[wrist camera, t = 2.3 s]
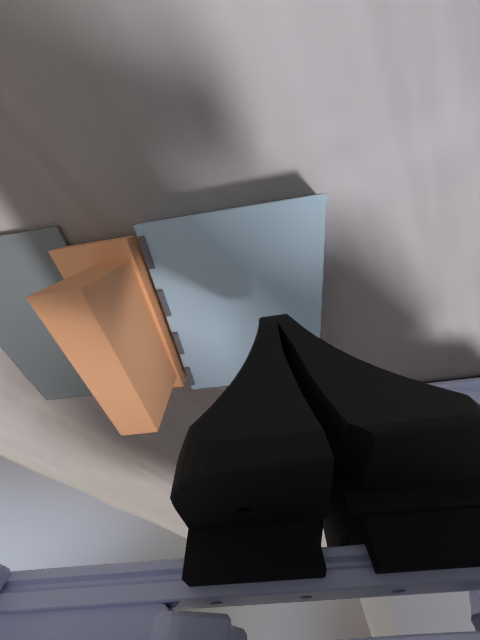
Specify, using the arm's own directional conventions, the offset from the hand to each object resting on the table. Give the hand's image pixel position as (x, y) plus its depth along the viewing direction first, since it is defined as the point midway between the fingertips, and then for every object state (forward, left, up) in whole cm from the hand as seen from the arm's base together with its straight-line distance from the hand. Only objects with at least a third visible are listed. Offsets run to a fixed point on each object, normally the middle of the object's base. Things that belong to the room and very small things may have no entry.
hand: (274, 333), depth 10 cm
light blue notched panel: (+1, 0, -4) cm, 4 cm away
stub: (+8, 0, -4) cm, 9 cm away
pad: (+14, 0, -4) cm, 15 cm away
